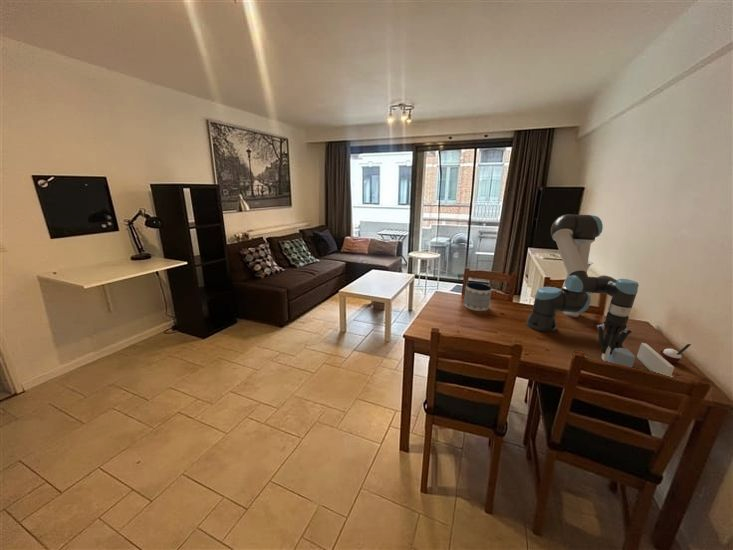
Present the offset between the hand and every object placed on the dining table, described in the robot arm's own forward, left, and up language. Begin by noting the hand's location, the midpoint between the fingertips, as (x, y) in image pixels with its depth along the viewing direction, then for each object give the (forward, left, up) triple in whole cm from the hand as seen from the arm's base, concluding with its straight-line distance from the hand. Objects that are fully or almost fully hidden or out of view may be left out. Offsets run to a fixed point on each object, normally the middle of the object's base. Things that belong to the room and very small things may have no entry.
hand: (604, 359), depth 141 cm
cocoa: (+32, +11, -2) cm, 34 cm away
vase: (+5, +58, -2) cm, 59 cm away
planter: (-54, +50, -2) cm, 74 cm away
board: (+21, 0, -2) cm, 21 cm away
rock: (+11, +19, -2) cm, 22 cm away
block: (+6, 0, -2) cm, 6 cm away
